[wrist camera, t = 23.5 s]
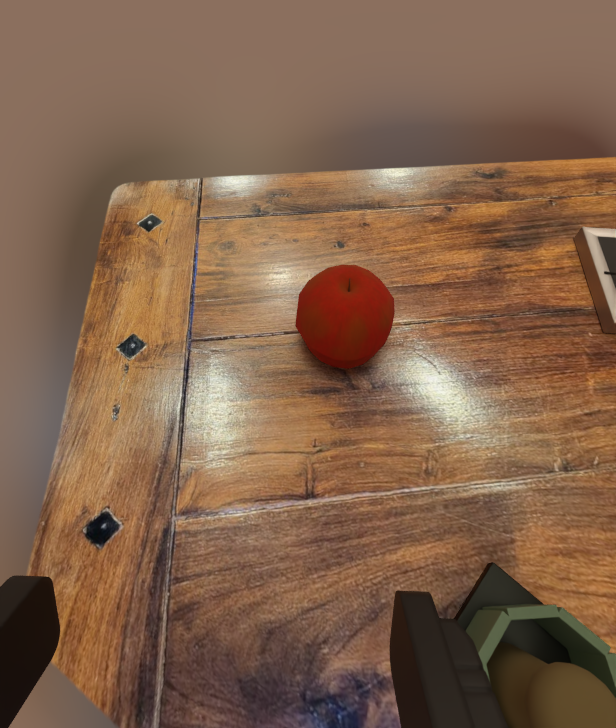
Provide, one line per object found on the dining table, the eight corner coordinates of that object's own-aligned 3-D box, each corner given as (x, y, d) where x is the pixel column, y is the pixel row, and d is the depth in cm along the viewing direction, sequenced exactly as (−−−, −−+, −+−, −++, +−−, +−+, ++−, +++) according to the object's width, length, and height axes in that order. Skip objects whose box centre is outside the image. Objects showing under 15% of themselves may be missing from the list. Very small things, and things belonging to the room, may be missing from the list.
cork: (485, 625, 35) (553, 634, 26) (557, 672, 34) (659, 701, 24) (457, 703, 33) (522, 745, 23) (533, 758, 31) (637, 828, 21)
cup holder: (551, 824, 30) (604, 871, 25) (412, 685, 34) (433, 700, 29) (617, 670, 35) (674, 682, 29) (488, 562, 38) (518, 556, 33)
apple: (282, 360, 48) (277, 298, 38) (318, 297, 53) (322, 226, 43) (364, 395, 46) (382, 338, 36) (395, 326, 51) (418, 259, 41)
